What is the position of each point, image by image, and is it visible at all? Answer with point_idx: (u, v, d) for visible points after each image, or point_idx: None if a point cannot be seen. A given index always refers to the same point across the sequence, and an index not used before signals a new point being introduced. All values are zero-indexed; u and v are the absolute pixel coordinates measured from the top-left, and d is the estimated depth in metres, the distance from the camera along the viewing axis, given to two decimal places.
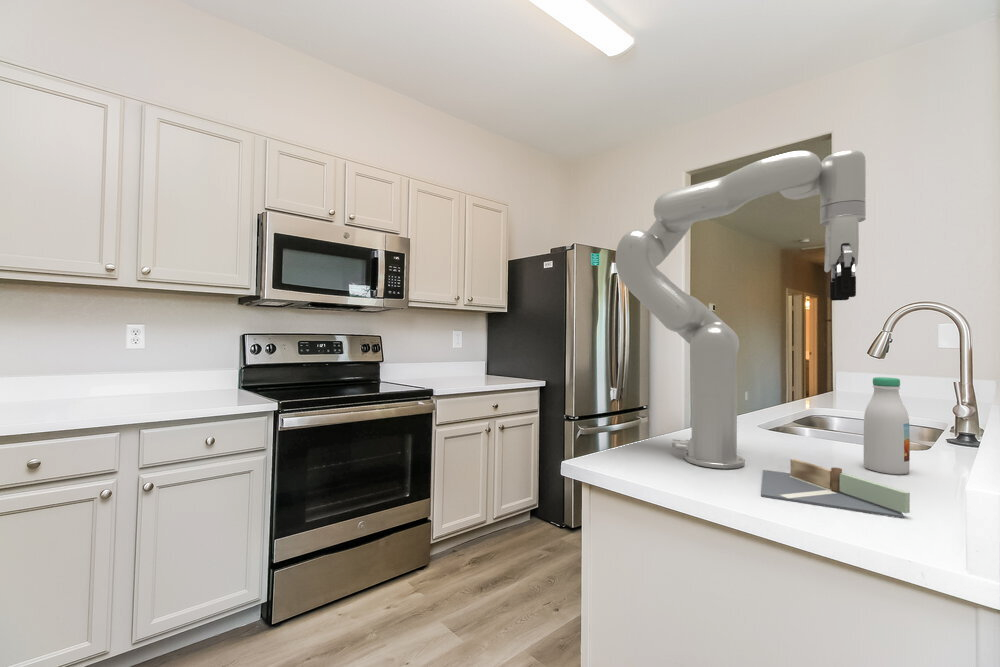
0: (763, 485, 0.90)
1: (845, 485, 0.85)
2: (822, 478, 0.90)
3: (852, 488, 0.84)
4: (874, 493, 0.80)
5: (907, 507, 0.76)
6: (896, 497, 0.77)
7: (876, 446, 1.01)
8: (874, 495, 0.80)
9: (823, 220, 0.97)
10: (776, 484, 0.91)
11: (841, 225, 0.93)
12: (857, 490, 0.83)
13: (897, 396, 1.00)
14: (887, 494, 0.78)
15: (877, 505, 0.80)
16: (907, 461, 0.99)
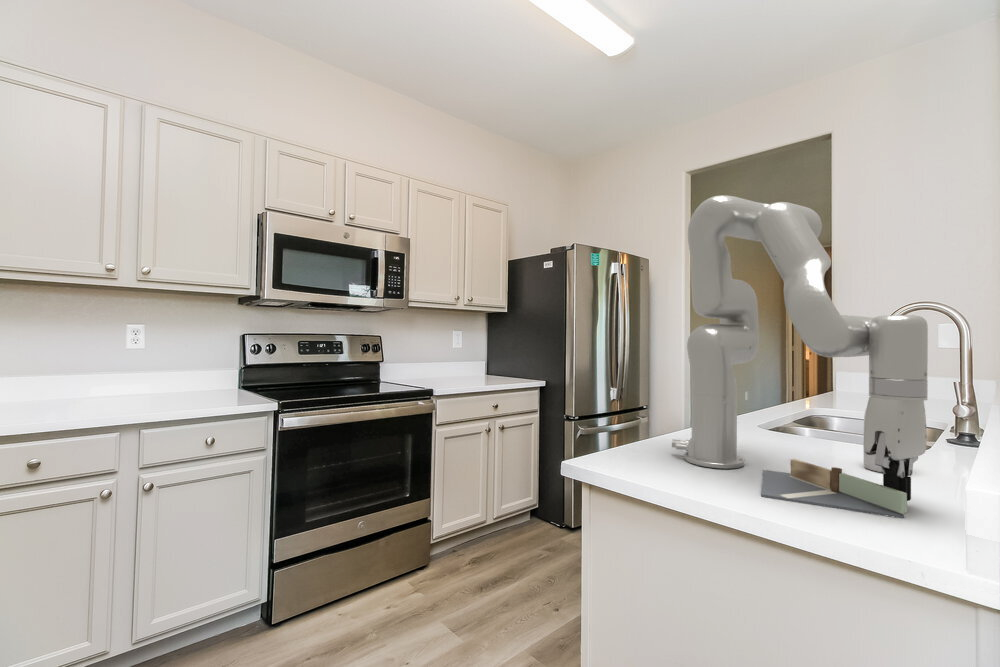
0: (763, 485, 0.90)
1: (844, 485, 0.85)
2: (822, 478, 0.90)
3: (851, 488, 0.84)
4: (872, 493, 0.80)
5: (904, 507, 0.76)
6: (893, 497, 0.77)
7: None
8: (872, 495, 0.80)
9: None
10: (776, 484, 0.91)
11: (876, 408, 0.78)
12: (855, 490, 0.83)
13: None
14: (884, 494, 0.78)
15: (877, 505, 0.80)
16: None
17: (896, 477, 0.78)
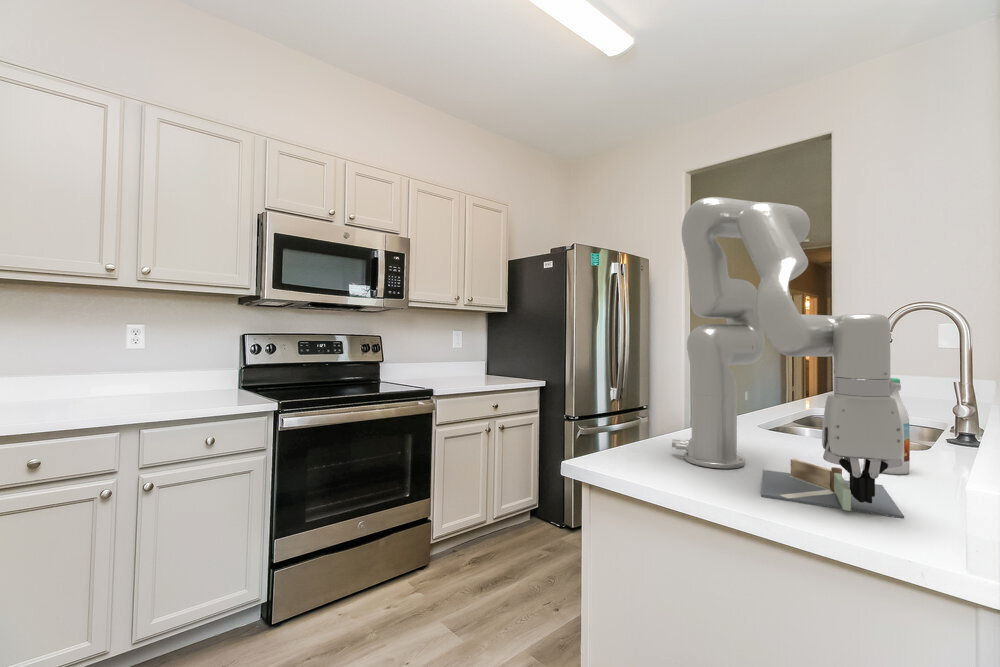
0: (763, 485, 0.90)
1: (834, 484, 0.86)
2: (822, 478, 0.90)
3: (835, 487, 0.85)
4: (838, 491, 0.81)
5: (847, 504, 0.77)
6: (841, 494, 0.78)
7: None
8: (839, 492, 0.81)
9: None
10: (776, 484, 0.91)
11: (826, 405, 0.80)
12: (836, 489, 0.84)
13: (897, 396, 1.00)
14: (840, 491, 0.79)
15: (877, 505, 0.80)
16: (907, 461, 0.99)
17: (852, 476, 0.78)
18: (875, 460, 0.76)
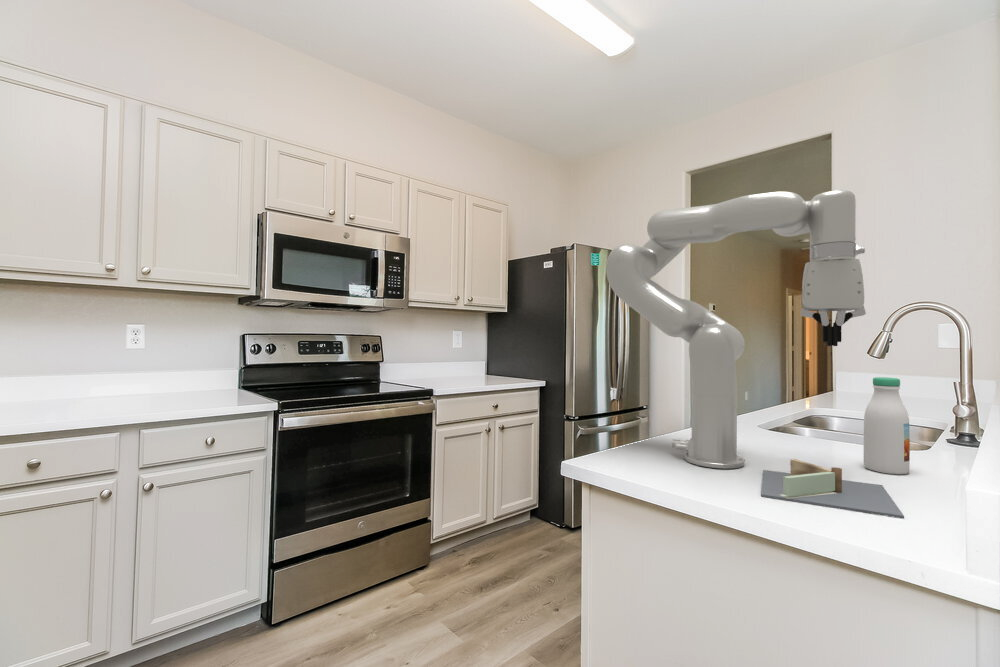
0: (763, 485, 0.90)
1: None
2: None
3: None
4: None
5: (785, 490, 0.84)
6: None
7: (876, 446, 1.01)
8: None
9: None
10: (776, 484, 0.91)
11: None
12: None
13: (897, 396, 1.00)
14: None
15: (877, 505, 0.80)
16: (907, 461, 0.99)
17: (823, 326, 0.95)
18: (841, 310, 0.93)
